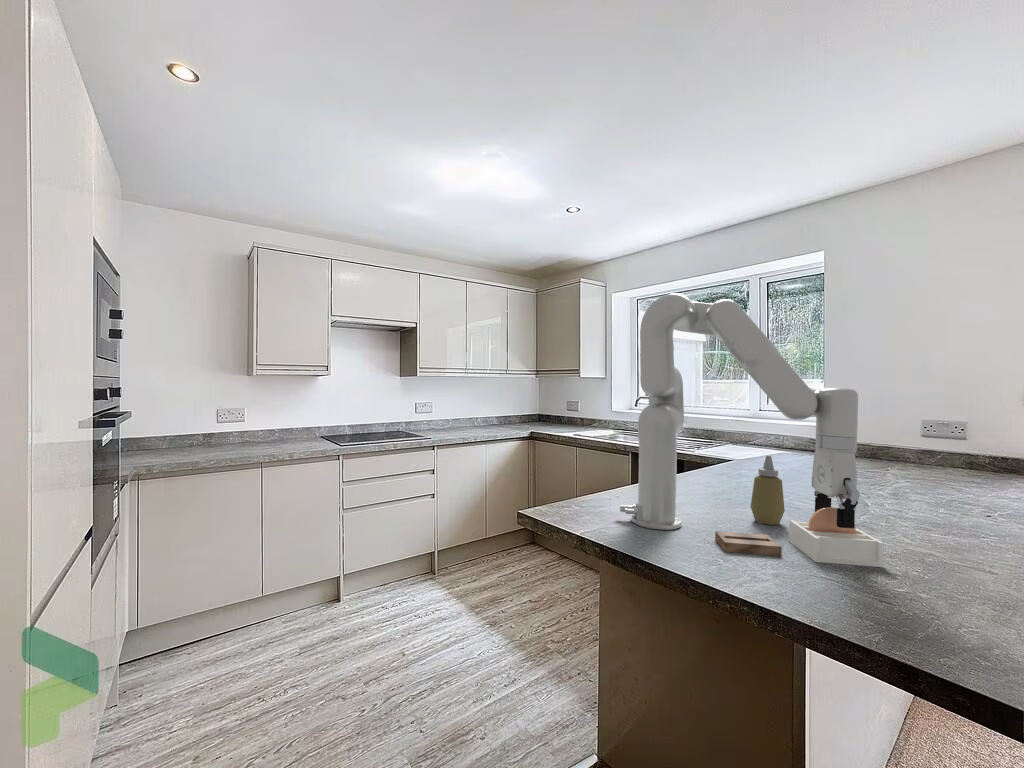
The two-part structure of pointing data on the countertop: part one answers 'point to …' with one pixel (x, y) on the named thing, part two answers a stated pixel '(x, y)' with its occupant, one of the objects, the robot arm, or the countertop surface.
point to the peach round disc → (827, 522)
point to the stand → (747, 543)
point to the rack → (837, 546)
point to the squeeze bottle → (767, 495)
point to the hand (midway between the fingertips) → (833, 520)
